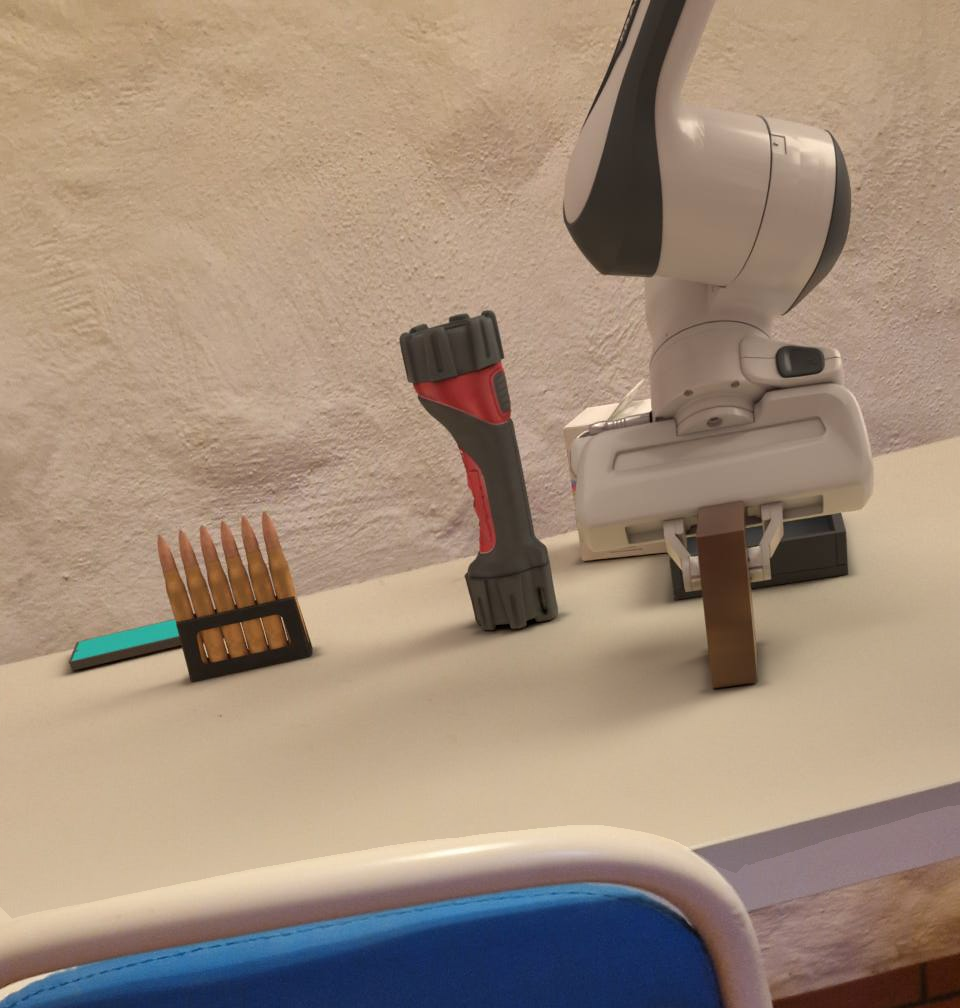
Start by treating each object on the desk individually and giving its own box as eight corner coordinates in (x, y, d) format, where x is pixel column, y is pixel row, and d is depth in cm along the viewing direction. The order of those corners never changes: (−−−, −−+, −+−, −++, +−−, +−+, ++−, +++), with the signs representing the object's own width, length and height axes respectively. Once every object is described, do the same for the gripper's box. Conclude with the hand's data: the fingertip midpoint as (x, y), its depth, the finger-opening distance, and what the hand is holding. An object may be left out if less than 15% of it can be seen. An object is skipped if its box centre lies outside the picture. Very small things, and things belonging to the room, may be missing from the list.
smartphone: (226, 625, 129) (68, 662, 129) (229, 634, 130) (71, 671, 129) (227, 606, 135) (76, 641, 135) (230, 614, 136) (79, 649, 136)
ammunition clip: (313, 649, 121) (275, 506, 114) (312, 655, 119) (274, 511, 113) (193, 675, 121) (149, 534, 115) (190, 682, 120) (146, 539, 113)
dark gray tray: (835, 520, 123) (833, 481, 121) (848, 574, 109) (846, 531, 107) (680, 544, 126) (676, 507, 124) (674, 600, 112) (669, 558, 111)
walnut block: (756, 643, 100) (743, 498, 94) (757, 682, 93) (743, 529, 88) (713, 649, 100) (698, 506, 95) (712, 688, 94) (695, 537, 89)
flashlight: (447, 623, 119) (386, 330, 107) (531, 599, 121) (480, 306, 108) (475, 644, 113) (413, 334, 101) (564, 617, 114) (513, 308, 102)
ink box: (603, 536, 134) (582, 385, 127) (689, 525, 131) (673, 371, 124) (581, 563, 127) (557, 406, 120) (671, 552, 124) (652, 391, 117)
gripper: (560, 400, 97) (569, 582, 94) (863, 344, 92) (882, 533, 90) (576, 454, 103) (584, 626, 100) (862, 403, 98) (879, 582, 96)
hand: (727, 581), depth 95 cm, fingers closed on walnut block, 3 cm apart
